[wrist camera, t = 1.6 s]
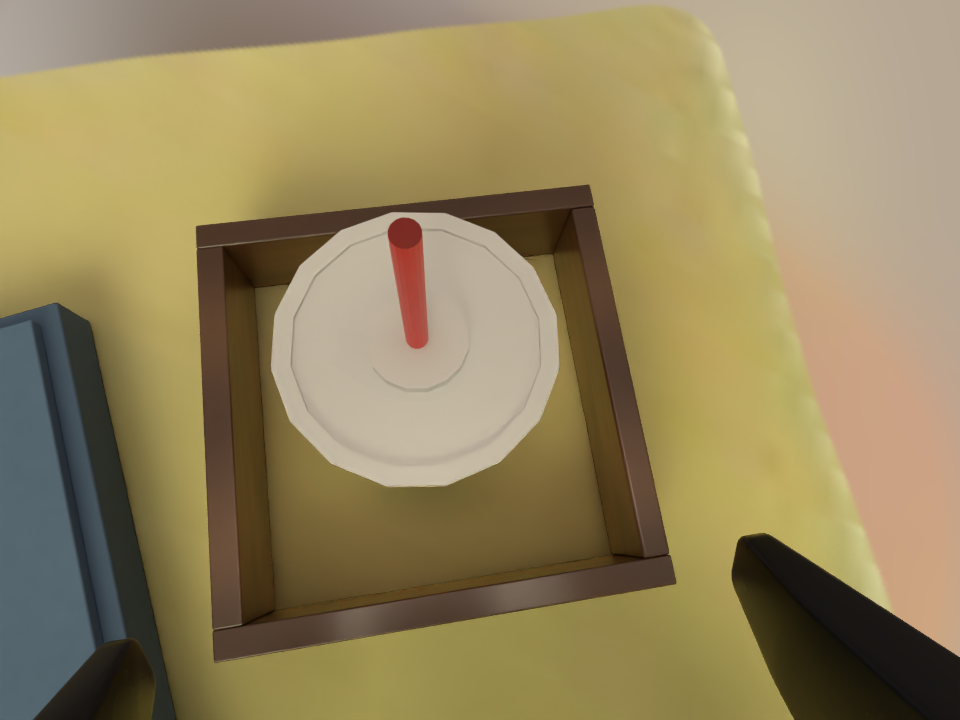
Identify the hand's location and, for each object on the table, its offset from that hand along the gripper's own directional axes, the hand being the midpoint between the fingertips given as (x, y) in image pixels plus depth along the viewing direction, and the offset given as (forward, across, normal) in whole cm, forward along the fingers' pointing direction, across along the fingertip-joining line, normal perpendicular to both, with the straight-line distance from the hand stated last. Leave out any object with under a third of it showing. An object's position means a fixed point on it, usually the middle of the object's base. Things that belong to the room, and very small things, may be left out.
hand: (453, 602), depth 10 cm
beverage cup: (+12, 0, +5) cm, 13 cm away
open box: (+12, 0, +5) cm, 13 cm away
